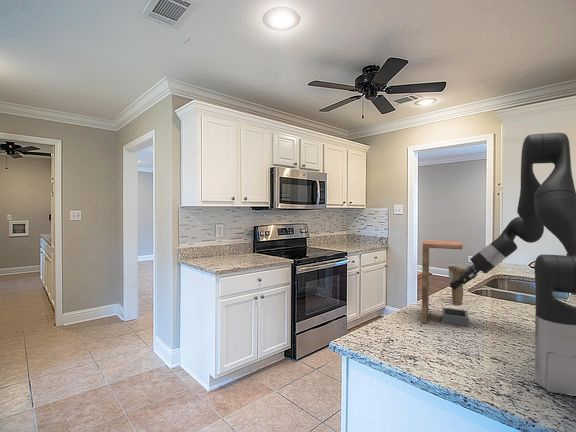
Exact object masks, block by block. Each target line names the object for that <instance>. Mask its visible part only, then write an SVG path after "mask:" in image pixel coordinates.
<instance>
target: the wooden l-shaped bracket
mask: <svg viewBox="0 0 576 432" xmlns="http://www.w3.org/2000/svg"><path fill="white" fill-rule="evenodd" d="M430 249H442V250H443V249H445V250H446V249H448V250H460V251H461V250H463V243H462V241H461V240H452V239H451V240H450V239H449V240H446V239H424V241H422V253H421V254H422V255H421V256H422V260H421V261H422V262H421V264H422V265H421V267H422V268H421V269H422V271H421V273H422V275H421V277H422V282H421V288H422V289H421V292H422V293H421V324H422V325H427V324H428V323H427V322H428V317H429V316H428V315H429V309H430V307H429V302H430V301H429V299H430V298H429V297H430V295H429V294H430V293H429V289H430V288H429V287H430Z"/></svg>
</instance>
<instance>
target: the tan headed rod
mask: <svg viewBox="0 0 576 432" xmlns="http://www.w3.org/2000/svg"><path fill="white" fill-rule="evenodd" d="M466 267H467V266H466ZM466 267H460V266H449V267H448V271H449V270H450V271H451V272H453V282H452V283H454V282H455V281H456V280H457V279H458V278H460V277H461V274H462V273H464V272H465V271H466V269H467V268H466ZM451 299H453V304H452V305H454V306H463V299H464V284H462V285H460V286H459V287H458V288H456V289H455V290H453V289H452V288H451Z"/></svg>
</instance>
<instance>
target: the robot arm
mask: <svg viewBox="0 0 576 432" xmlns="http://www.w3.org/2000/svg"><path fill="white" fill-rule="evenodd" d="M570 146H571V145H570V140H569V138H568V135H567V134H566V133H564V132H545V133H544V132H543V133H533V134H528V135H526V137H525V138H524V141H523V142H522V147H521V158H520V188H519V189H520V193H519V197H518V198H519V199H518V203H517V210H516V212H517V214H518V216H516V217H515V218H513V219H511V220H510V221H509V223H508V224H507V225H506V227H504V229H503V231H502V232H501V234H500V235H499V236H498V237H497V238H496V239H494V240H493V241H492V242H491V243H489V244H488V245H486V246H484V247H483V248H482V249H481V250H479V251H478V252H477V253H476V254H474V255H473V256H472V257H471V258H470V259H469V260H470V261H471V262H472V264H471V265H467V266H466V268H467V269H466V271H465V272H464V273H462V274H461V277H460V278H458V279H457V280H456V281H455V282H454V283H452V282H453V281H452V282H451V281H450V283H449V286H450V288H451V290H452V289H453V290H455V289H456V288H458V287H459V286H460V285H462V284H463V285H466V284H467V283H469V282H470V281H472V280H473V279H475V278H476V277H477V276H478V275H479V272H480V271H481V273H483V274H486V275H487V274H488V273H489V272H491V271H492V270H493V269H494V268H496V267H497V266H499V265H500V264H501V263H502V262H503V261H504V260H505V259H506V258H508V257H509V256H510V255H512V254H513V253H514V252H516V251H517V249H518V246H517V244H516V242H515V238H517V237H518V238H519V239H521V240H522V241H524V242H526V243H531V244H533V243H536V242H538V241H539V240H540V239H541V238H542V237H543V236H544V232H545V228H546V230H548V231H549V232H550V233H551V234H552V235H554V237H556V239H557V240H558V241H559V242H560V243H561V244H562V246H563V248H564V249H565V251H566V253H567V255H563V254H539V255H538V256H537V257H536V258H535V262H534V282H535V283H534V285H535V316H534V317H535V318H534V319H535V323H534V381H535V383H536V384H538V385H539V386H540V387H541V388H544V389H545V390H546V391H547V392H548V393H554V394H557V393H560V394H559V395H562V394H571V395H575V396H576V306H573V305H570V304H568V303H566V302H564V301H561V300H560V299H558V298H556V297H554V294H553V292H555V293H565V294H573V295H574V294H575V295H576V188H575V187H576V186H575V183H574V182H575V181H574V179H573V178H574V177H573V172H572V163H571V162H572V161H571V160H572V159H571V147H570ZM534 164H535V165H536V164H553V165H554V167H553V169H552V171H551V172H550V174H549V175H548V176H547V177H546V179H545V180H543V182H541V183H540V182H539V180H538V179H537V177H536V176H535V172H534Z"/></svg>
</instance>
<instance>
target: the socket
mask: <svg viewBox="0 0 576 432" xmlns="http://www.w3.org/2000/svg"><path fill="white" fill-rule="evenodd" d="M441 309H442V312H441V314H442V315H441V324H442V325H443V324H444V325H450V326H457V327H465V328H469V320H470V319H469V318H470V317H469V313H468V309H467V310H465V309H456V308H450V307H441Z"/></svg>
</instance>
